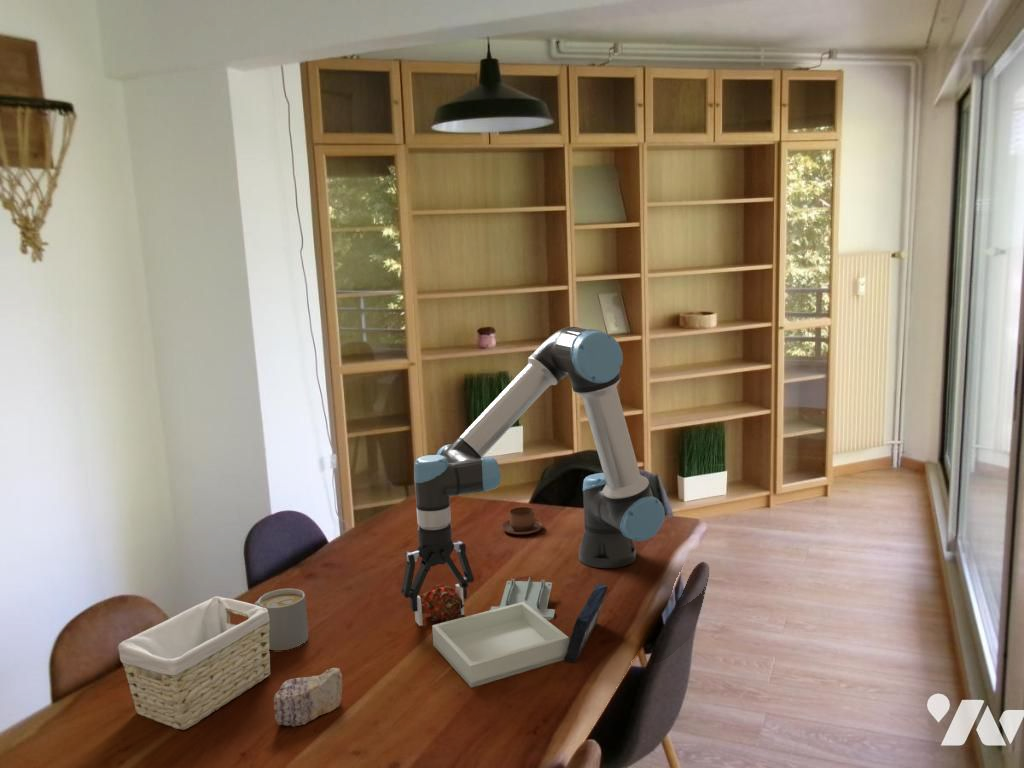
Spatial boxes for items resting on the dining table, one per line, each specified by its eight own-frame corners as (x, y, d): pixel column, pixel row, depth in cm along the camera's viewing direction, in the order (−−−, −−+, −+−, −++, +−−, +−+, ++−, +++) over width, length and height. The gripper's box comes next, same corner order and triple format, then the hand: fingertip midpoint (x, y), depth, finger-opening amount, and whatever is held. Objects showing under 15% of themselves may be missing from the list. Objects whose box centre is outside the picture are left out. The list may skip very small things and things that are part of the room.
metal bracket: (499, 572, 200) (560, 574, 197) (501, 591, 202) (562, 593, 199) (486, 612, 187) (551, 616, 184) (489, 632, 190) (554, 635, 187)
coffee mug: (317, 637, 182) (314, 595, 180) (279, 656, 174) (275, 611, 173) (281, 622, 190) (277, 581, 189) (244, 639, 183) (239, 596, 181)
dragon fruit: (461, 633, 184) (424, 627, 192) (478, 600, 189) (440, 596, 197) (441, 612, 180) (403, 607, 187) (458, 579, 185) (421, 575, 192)
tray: (524, 620, 186) (523, 601, 185) (569, 658, 168) (568, 637, 167) (433, 645, 176) (432, 625, 175) (471, 687, 158) (469, 666, 158)
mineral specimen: (326, 689, 160) (323, 657, 159) (349, 703, 155) (346, 670, 154) (262, 720, 151) (258, 686, 150) (284, 736, 145) (280, 701, 144)
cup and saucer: (505, 524, 251) (504, 504, 250) (544, 524, 249) (544, 504, 248) (499, 538, 239) (498, 517, 238) (540, 538, 238) (539, 517, 236)
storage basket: (180, 738, 146) (170, 661, 144) (122, 716, 154) (112, 643, 152) (279, 675, 167) (272, 607, 164) (224, 658, 175) (217, 593, 172)
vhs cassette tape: (574, 665, 166) (587, 622, 163) (561, 659, 167) (573, 617, 164) (598, 625, 183) (610, 586, 180) (585, 620, 184) (597, 581, 181)
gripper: (472, 511, 193) (477, 600, 197) (381, 529, 183) (388, 623, 187) (486, 519, 186) (490, 612, 190) (392, 539, 177) (399, 636, 180)
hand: (440, 617), depth 188 cm, fingers closed on dragon fruit, 9 cm apart
